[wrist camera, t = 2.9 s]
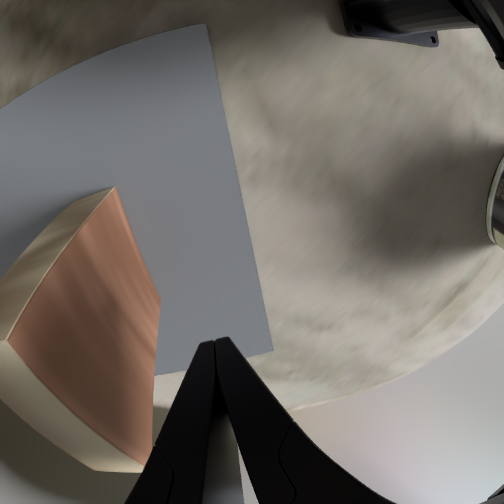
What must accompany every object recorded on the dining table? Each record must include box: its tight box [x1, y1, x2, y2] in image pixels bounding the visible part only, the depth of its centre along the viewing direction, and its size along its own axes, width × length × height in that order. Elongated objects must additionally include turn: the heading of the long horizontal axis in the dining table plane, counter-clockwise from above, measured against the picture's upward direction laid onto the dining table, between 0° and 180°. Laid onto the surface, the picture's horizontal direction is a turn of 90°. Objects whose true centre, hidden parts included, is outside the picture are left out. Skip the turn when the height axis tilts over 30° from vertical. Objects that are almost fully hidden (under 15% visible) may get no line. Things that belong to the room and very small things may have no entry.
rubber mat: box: [0, 23, 274, 376], centre depth 14 cm, size 20×20×1 cm
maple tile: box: [0, 186, 161, 472], centre depth 10 cm, size 2×7×10 cm, turn 11°
